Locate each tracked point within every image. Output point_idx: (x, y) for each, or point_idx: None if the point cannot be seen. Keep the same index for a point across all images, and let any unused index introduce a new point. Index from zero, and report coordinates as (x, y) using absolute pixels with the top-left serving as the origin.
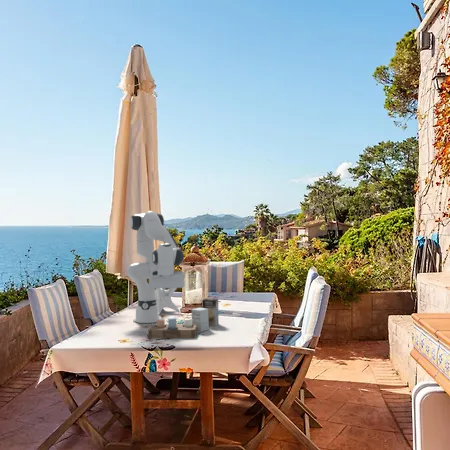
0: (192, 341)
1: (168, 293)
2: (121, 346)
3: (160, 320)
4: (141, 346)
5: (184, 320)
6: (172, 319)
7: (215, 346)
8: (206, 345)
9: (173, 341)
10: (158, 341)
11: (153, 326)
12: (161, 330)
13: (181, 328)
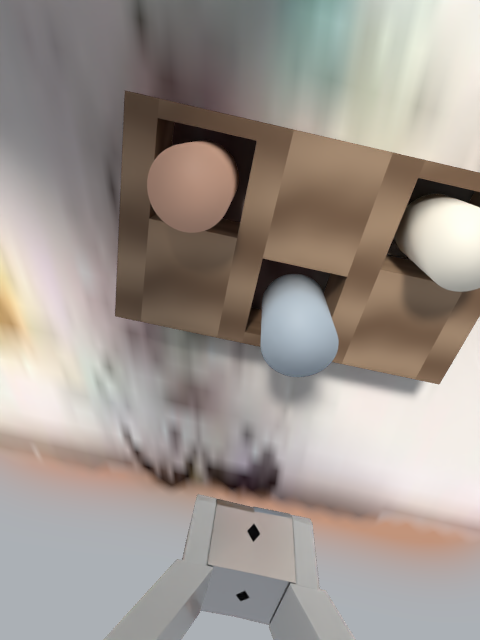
0: (379, 420)
1: (273, 612)
2: (29, 417)
3: (189, 219)
4: (124, 439)
5: (426, 266)
6: (296, 372)
7: (450, 514)
8: (419, 494)
9: (280, 395)
10: (200, 375)
11: (134, 174)
12: (209, 335)
13: (360, 321)
